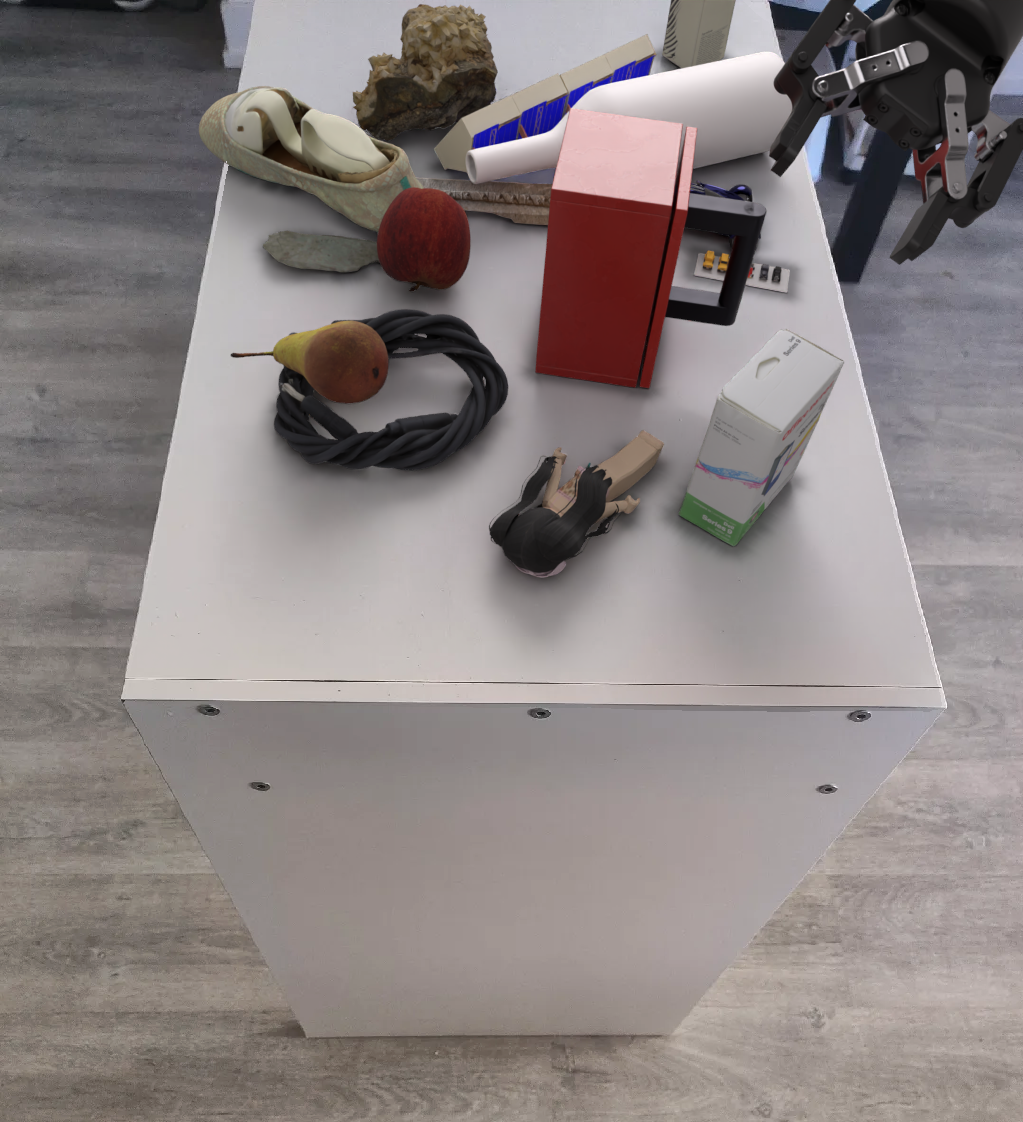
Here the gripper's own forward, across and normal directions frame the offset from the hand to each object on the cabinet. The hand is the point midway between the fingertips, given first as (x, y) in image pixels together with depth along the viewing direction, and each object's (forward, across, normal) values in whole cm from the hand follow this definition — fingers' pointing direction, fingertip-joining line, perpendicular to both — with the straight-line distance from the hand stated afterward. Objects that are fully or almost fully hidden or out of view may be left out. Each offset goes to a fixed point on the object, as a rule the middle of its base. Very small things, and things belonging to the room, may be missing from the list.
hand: (842, 211), depth 57 cm
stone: (+4, -30, +35) cm, 46 cm away
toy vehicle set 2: (-11, 0, +30) cm, 32 cm away
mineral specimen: (-14, -32, +43) cm, 56 cm away
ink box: (+10, +7, +18) cm, 22 cm away
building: (-20, -23, +38) cm, 49 cm away
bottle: (-30, -5, +35) cm, 46 cm away
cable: (+17, -17, +24) cm, 34 cm away
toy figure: (+18, -2, +18) cm, 26 cm away
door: (0, -1, +25) cm, 25 cm away
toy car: (-14, -5, +33) cm, 36 cm away
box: (-37, -13, +46) cm, 61 cm away
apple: (+5, -22, +31) cm, 38 cm away
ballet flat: (-2, -35, +39) cm, 53 cm away
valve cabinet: (+2, -8, +27) cm, 28 cm away
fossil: (-7, -21, +36) cm, 42 cm away
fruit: (+17, -19, +16) cm, 30 cm away
